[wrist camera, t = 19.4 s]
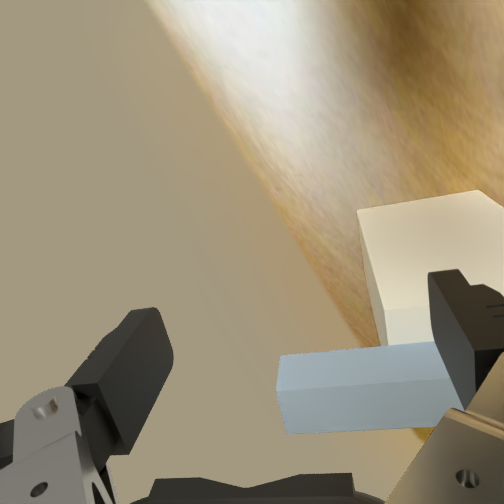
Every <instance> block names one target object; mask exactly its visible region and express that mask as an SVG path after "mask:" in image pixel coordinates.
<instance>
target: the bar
mask: <svg viewBox="0 0 504 504" xmlns="http://www.w3.org/2000/svg"><path fill="white" fill-rule="evenodd" d="M276 394H277V398H278V402H279V406H280V410H281V414H282V418H283V422H284V425H285V430H286V434H305V433H325V432H345V431H361V430H362V431H364V430H382V429H402V428H421V427H436V426H437V424H438V423H439V421H440V420H441V418H442V417H443V415H444V414H445V413H446V411H448V410H449V409H450V408H456V409H458V410H461V411H464V409H463V406H462V404H461V402H460V399H459V397H458V395H457V393H456V390H455V388H454V386H453V383H452V381H451V379H450V376H449V374H448V372H447V370H446V367H445V365H444V363H443V360H442V358H441V356H440V353H439V351H438V349H437V347H436V344H435V341H430V342H420V343H409V344H399V345H388V346H378V347H367V348H357V349H346V350H336V351H325V352H314V353H304V354H294V355H282V356H281V357H280V364H279V372H278V379H277V386H276ZM464 412H465V411H464Z"/></svg>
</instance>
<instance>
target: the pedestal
mask: <svg viewBox="0 0 504 504" xmlns="http://www.w3.org/2000/svg"><path fill="white" fill-rule="evenodd" d="M356 213H357V220H358V227H359V235H360V242H361V249H362V257H363V264H364V271H365V279H366V284H367V288H368V293H369V297H370V301H371V306H372V310H373V314H374V319H375V323H376V327H377V332H378V336H379V340H380V345H381V346H388V345H399V344H409V343H420V342H430V341H434V338H433V333H432V328H431V320H430V307H429V294H428V281H427V277H428V273H429V272H435V271H443V270H451V269H459V270H460V272H461V273H462V274H463V276H464V277H465V278H466V280H467V281H468V283H469V284H470V285H478V284H484V285H486V286H488V287H490V288H492V289H494V290H496V291H498V292H500V293H501V294H502V295H503V297H504V208H503V207H502V206H500V205H499V204H497V203H496V202H495V201H493V200H492V199H491V198H489V197H488V196H486V195H485V194H484V193H482V192H481V191H479V190H474V191H468V192H462V193H456V194H450V195H444V196H438V197H432V198H426V199H420V200H414V201H407V202H401V203H395V204H389V205H383V206H377V207H371V208H365V209H359V210H356Z"/></svg>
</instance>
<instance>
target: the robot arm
mask: <svg viewBox="0 0 504 504" xmlns="http://www.w3.org/2000/svg"><path fill="white" fill-rule="evenodd" d="M427 281H428V294H429V307H430V320H431V328H432V333H433V338H434V341H435V344H436V347H437V349H438V351H439V353H440V356H441V358H442V360H443V363H444V365H445V367H446V370H447V372H448V374H449V376H450V379H451V381H452V383H453V386H454V388H455V390H456V393H457V395H458V397H459V399H460V402H461V404H462V406H463V409H464V411H465V412H464V411H461V410H458V409H456V408H450V409H449V410H448V411H446V413H445V414H444V415H443V417H442V418H441V420H440V421H439V423H438V424H437V426H436V427H435V429H434V430H433V432H432V433H431V435H430V436H429V438H428V439H427V440H426V442H425V443H424V445H423V446H422V448H421V449H420V451H419V452H418V454H417V455H416V457H415V458H414V460H413V461H412V463H411V465H410V466H409V467H408V469H407V470H406V472H405V473H404V475H403V476H402V478H401V480H400V481H399V482H398V484H397V485H396V487H395V488H394V490H393V491H392V493H391V494H390V496H389V497H388V499H387V500H386V502H385V501H383V500H381V499H379V498H377V497H374V496H371V495H368V494H365V493H361V492H357V491H355V488H354V483H353V477H352V473H331V474H299V475H296V476H292V477H288V478H284V479H281V480H277V481H274V482H269V483H265V484H262V485H258V486H255V487H250V488H242V487H237V486H233V485H229V484H225V483H221V482H217V481H213V480H208V479H204V478H200V477H199V478H170V479H169V478H168V479H155V481H154V484H153V486H152V489H151V491H150V494H149V496H148V497H145V498H142V499H140V500H137V501H135V502H132V503H131V504H504V297H503V295H502V294H501V293H500V292H498V291H496V290H494V289H492V288H490V287H488V286H486V285H484V284H478V285H470V284H469V283H468V281H467V280H466V278H465V277H464V276H463V274H462V273H461V272H460V270H459V269H451V270H443V271H435V272H429V273H428V277H427ZM172 366H173V350H172V346H171V343H170V340H169V338H168V335H167V332H166V329H165V326H164V323H163V320H162V317H161V315H160V312H159V311H158V309H157V308H154V307H152V308H144V309H137V310H131V311H130V312H129V313H128V315H127V316H126V317H125V318H124V319H123V321H122V322H121V323H120V324H119V326H118V327H117V328H116V329H115V330H113V331H112V332H110V333H109V334H108V335H106V336H105V337H104V338H103V339H102V340H101V342H99V344H98V345H97V346H96V347H95V350H93V351H92V352H91V354H90V355H89V356H88V359H86V360H85V361H84V362H83V363H82V365H81V366H80V367H79V368H78V369H77V371H76V372H75V373H74V374H73V376H72V377H71V378H70V379H69V380H68V382H67V383H66V384H65V385H64V386H61V387H55V388H51V389H48V390H46V391H43V392H41V393H39V394H38V395H36V396H34V397H33V398H31V399H30V400H29V401H27V402H26V403H25V404H24V405H23V406H22V407H21V408H20V409H19V411H18V412H17V414H16V416H15V419H13V420H10V421H7V422H3V423H0V504H119V501H118V497H117V493H116V490H115V486H114V482H113V478H112V474H111V471H110V468H109V466H108V464H107V460H108V458H109V456H110V455H129V454H130V451H131V450H132V448H133V445H134V443H135V441H136V440H137V438H138V436H139V433H140V432H141V430H142V427H143V425H144V424H145V422H146V419H147V417H148V415H149V413H150V411H151V409H152V407H153V405H154V403H155V401H156V399H157V397H158V395H159V393H160V391H161V389H162V387H163V385H164V383H165V381H166V379H167V377H168V375H169V373H170V371H171V369H172Z"/></svg>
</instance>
